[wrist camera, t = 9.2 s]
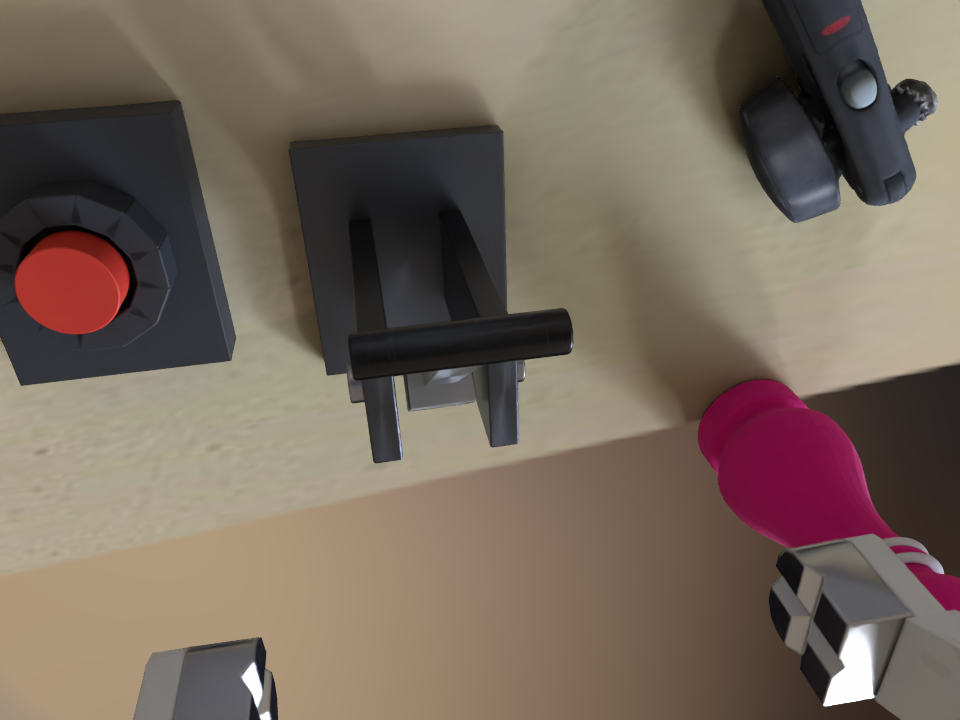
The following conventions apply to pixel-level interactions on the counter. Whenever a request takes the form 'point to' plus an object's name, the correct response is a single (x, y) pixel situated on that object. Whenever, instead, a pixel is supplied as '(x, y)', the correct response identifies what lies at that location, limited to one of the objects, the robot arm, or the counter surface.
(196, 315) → the control block
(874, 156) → the can opener
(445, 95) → the counter surface
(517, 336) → the lever
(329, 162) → the bracket
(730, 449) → the pepper mill
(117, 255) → the button
